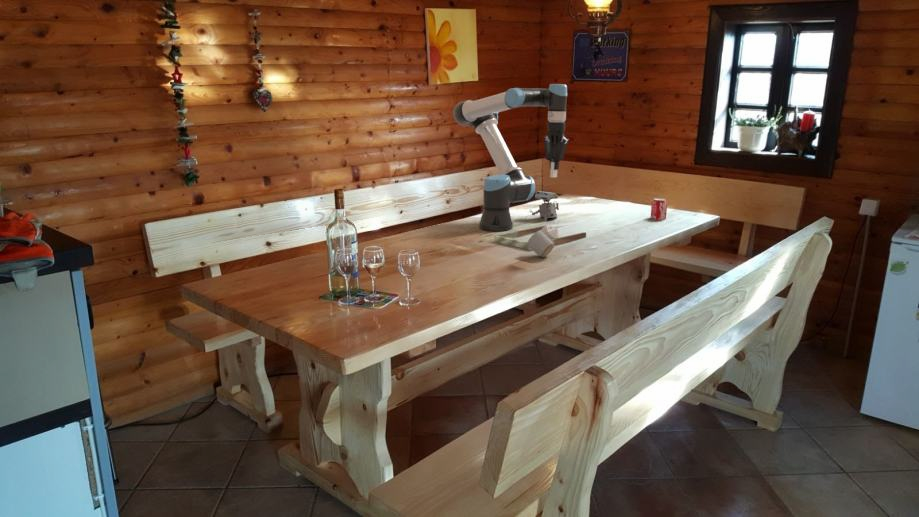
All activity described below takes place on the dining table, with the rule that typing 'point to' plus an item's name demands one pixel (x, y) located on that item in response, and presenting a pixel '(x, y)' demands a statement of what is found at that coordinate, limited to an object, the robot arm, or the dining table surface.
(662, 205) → the soda can
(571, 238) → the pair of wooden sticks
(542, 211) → the figurine
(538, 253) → the ceramic mug
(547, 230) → the die
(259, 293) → the dining table surface
